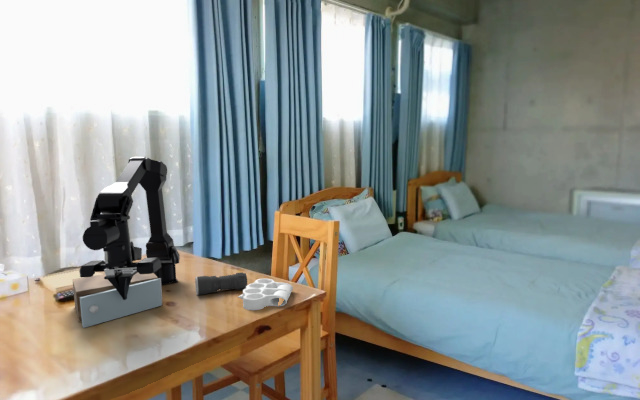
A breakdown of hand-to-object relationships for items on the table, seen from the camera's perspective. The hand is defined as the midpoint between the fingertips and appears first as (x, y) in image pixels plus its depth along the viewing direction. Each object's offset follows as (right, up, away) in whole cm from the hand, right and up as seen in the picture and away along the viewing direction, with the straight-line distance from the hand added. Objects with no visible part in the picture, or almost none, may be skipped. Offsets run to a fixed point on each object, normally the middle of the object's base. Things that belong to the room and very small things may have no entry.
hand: (125, 299), depth 113 cm
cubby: (-6, -4, +10) cm, 12 cm away
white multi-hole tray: (+34, -4, +15) cm, 37 cm away
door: (-1, -5, +2) cm, 5 cm away
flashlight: (+20, -3, +21) cm, 29 cm away
